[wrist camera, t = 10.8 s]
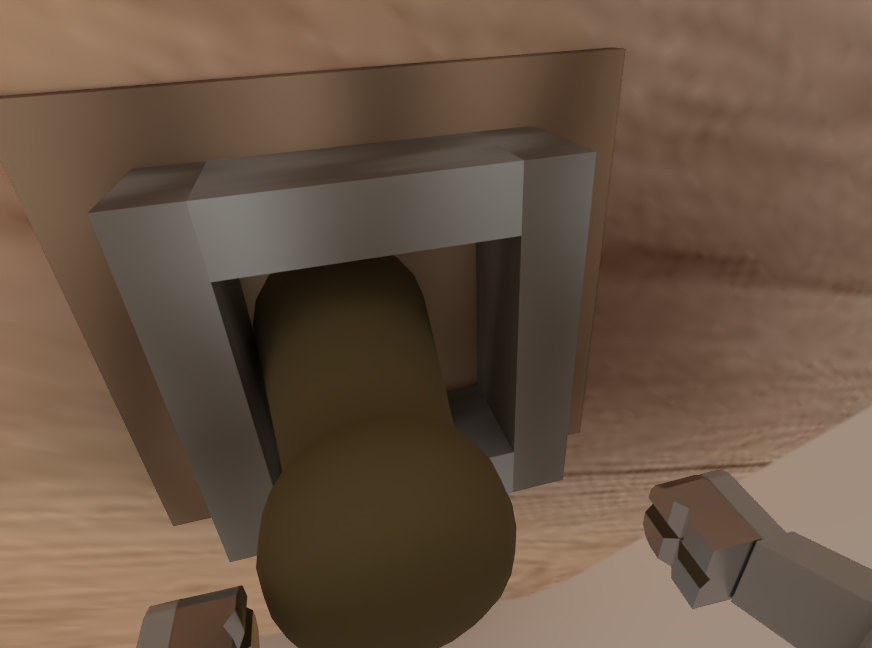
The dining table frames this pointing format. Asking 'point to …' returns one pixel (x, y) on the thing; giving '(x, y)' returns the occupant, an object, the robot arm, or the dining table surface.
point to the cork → (371, 469)
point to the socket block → (325, 245)
